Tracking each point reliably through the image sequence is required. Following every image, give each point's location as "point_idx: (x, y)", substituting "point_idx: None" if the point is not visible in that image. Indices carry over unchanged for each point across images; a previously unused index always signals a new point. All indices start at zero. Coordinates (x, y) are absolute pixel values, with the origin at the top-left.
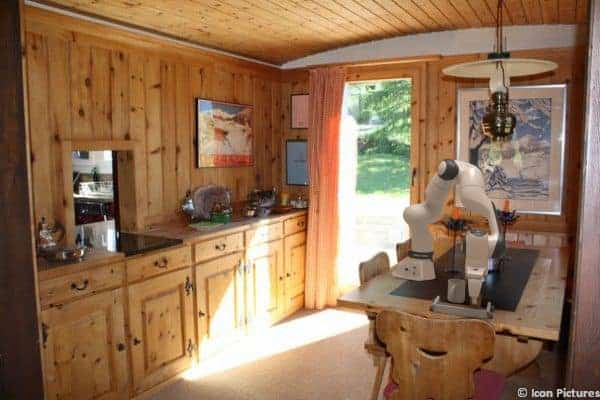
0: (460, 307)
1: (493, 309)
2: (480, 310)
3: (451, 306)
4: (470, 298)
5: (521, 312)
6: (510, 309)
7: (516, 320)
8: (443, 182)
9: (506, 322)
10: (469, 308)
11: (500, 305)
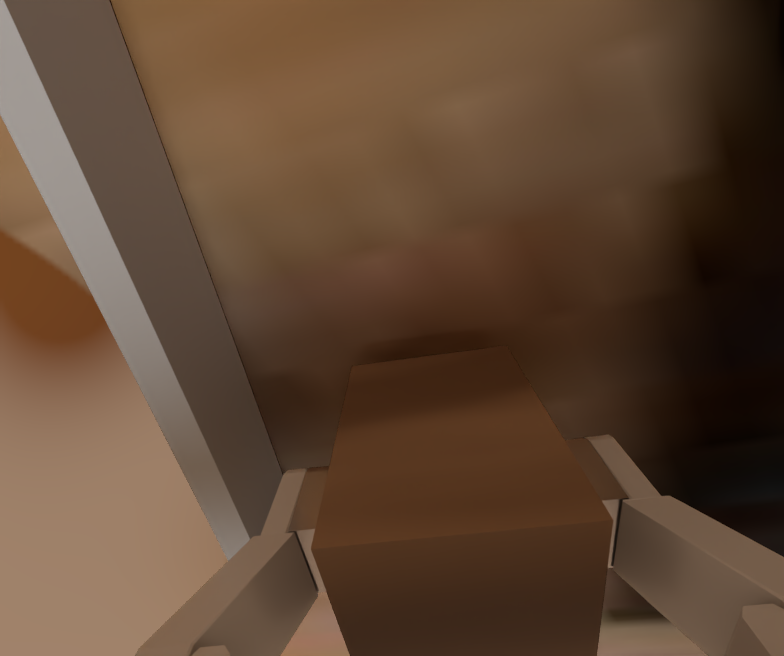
0: (118, 280)
1: None
2: (217, 530)
3: (21, 89)
4: (329, 488)
5: (601, 652)
6: None
7: None
8: None
9: None
10: (188, 412)
11: (772, 532)
